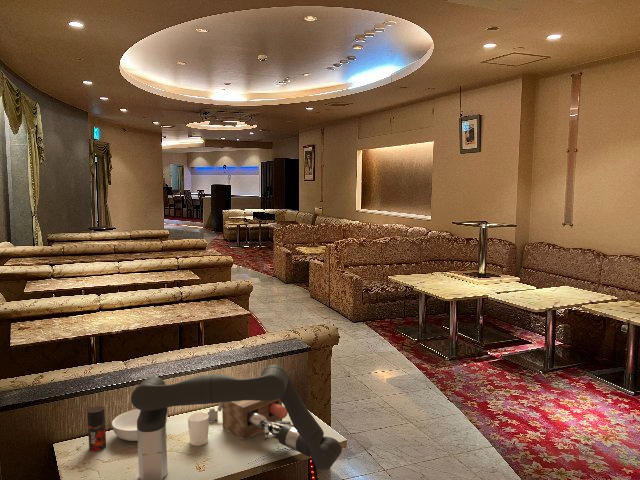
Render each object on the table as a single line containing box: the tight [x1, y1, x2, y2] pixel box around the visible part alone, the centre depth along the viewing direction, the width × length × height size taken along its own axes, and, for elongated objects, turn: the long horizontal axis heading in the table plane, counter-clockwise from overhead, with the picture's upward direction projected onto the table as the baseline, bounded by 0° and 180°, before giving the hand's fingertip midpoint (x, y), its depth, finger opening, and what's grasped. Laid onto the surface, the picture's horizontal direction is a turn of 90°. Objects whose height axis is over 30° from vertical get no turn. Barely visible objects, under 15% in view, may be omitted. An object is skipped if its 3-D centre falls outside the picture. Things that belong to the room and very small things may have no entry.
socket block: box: [221, 399, 283, 441], centre depth 202 cm, size 14×20×13 cm
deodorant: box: [86, 405, 107, 453], centre depth 185 cm, size 6×6×15 cm
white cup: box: [187, 411, 210, 447], centre depth 189 cm, size 8×8×10 cm
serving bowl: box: [111, 408, 168, 442], centre depth 195 cm, size 21×21×7 cm
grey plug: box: [247, 411, 267, 428], centre depth 192 cm, size 10×4×4 cm, turn 47°
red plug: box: [269, 402, 288, 420], centre depth 200 cm, size 10×4×4 cm, turn 47°
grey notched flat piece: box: [206, 402, 222, 422], centre depth 208 cm, size 7×2×8 cm, turn 106°
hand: (262, 422), depth 188 cm, fingers closed
